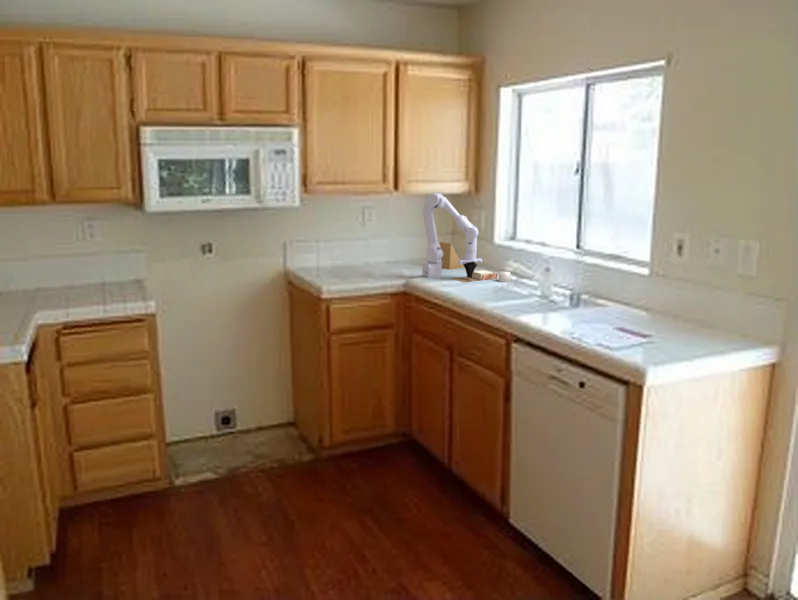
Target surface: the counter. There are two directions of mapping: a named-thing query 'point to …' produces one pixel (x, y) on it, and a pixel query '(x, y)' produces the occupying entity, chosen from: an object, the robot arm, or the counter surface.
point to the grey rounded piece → (504, 276)
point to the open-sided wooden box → (484, 277)
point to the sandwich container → (449, 256)
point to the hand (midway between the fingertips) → (469, 277)
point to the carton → (480, 274)
